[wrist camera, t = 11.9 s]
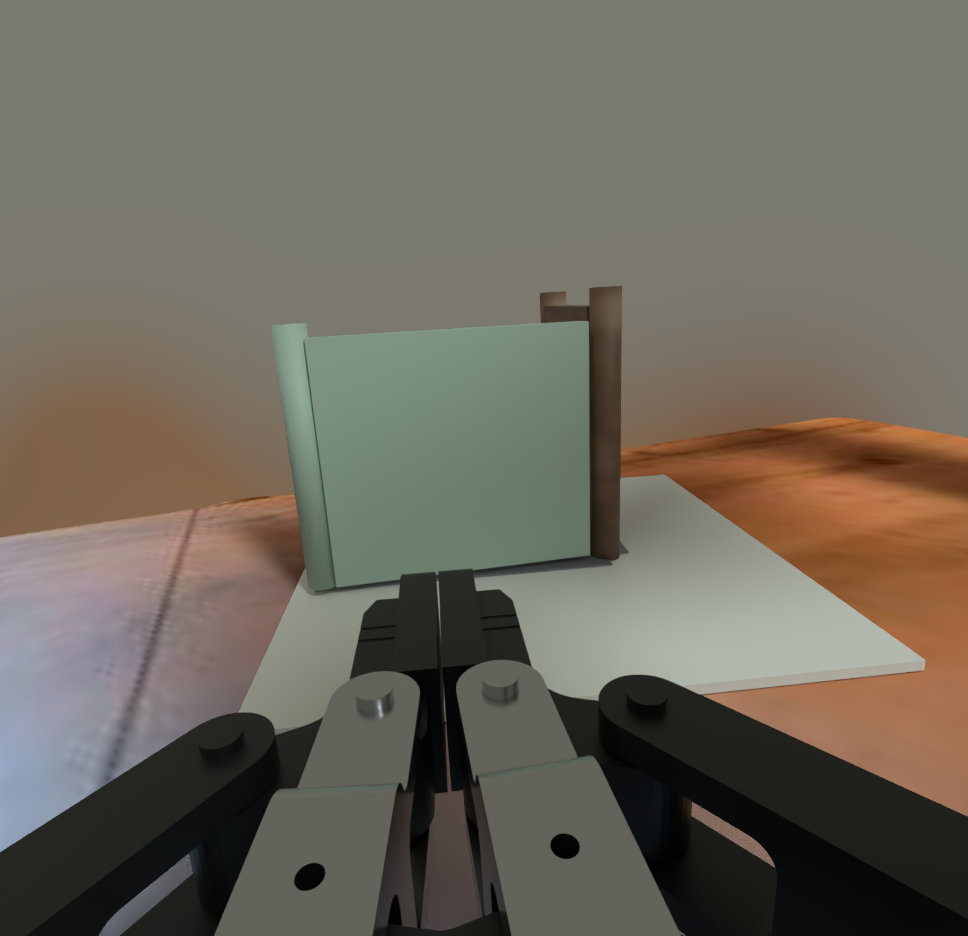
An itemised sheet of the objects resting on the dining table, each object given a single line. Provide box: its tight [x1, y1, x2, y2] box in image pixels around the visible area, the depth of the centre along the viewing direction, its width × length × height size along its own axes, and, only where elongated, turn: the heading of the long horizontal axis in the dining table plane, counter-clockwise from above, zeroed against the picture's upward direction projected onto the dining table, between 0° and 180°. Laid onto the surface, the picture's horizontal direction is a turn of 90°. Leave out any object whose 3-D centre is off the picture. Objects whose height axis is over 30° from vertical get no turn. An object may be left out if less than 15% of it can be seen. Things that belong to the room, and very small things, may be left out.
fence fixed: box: [540, 286, 622, 561], centre depth 34 cm, size 2×13×13 cm, turn 5°
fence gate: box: [271, 321, 590, 591], centre depth 27 cm, size 13×1×12 cm, turn 100°
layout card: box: [238, 475, 925, 735], centre depth 30 cm, size 23×23×1 cm
